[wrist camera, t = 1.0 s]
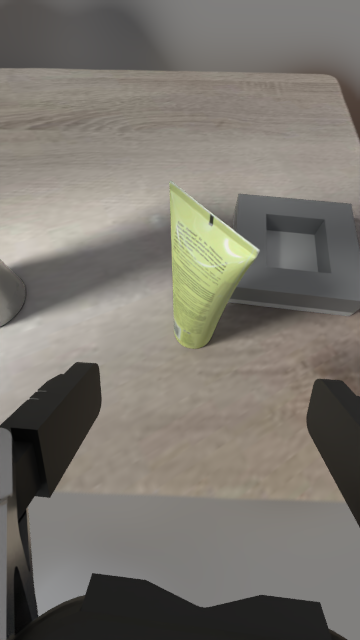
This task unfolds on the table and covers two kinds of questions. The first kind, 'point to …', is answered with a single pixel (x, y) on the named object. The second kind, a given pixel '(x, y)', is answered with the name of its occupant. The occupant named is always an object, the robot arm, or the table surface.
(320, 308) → the holder
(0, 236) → the table surface
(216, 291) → the tube
